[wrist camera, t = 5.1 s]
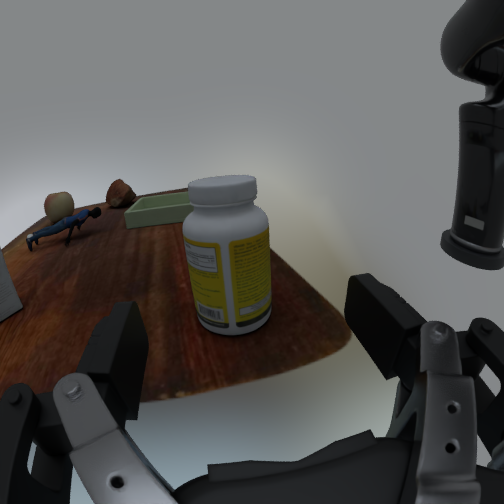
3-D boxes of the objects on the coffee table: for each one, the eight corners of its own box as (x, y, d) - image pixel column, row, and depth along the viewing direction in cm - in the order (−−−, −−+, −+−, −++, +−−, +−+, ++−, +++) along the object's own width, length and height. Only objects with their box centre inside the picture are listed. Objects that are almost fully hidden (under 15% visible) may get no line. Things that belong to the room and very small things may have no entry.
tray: (203, 203, 61) (202, 189, 60) (203, 219, 49) (201, 203, 47) (142, 210, 59) (140, 197, 58) (126, 228, 47) (124, 213, 46)
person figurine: (25, 266, 37) (102, 234, 42) (16, 244, 35) (93, 210, 40) (42, 245, 47) (109, 218, 51) (35, 227, 45) (102, 198, 49)
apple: (45, 225, 58) (39, 197, 55) (70, 215, 65) (65, 188, 61) (53, 228, 53) (46, 197, 50) (81, 217, 60) (76, 187, 57)
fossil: (108, 191, 72) (117, 162, 67) (133, 198, 76) (143, 170, 71) (99, 216, 63) (107, 184, 58) (128, 224, 67) (138, 193, 62)
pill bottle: (267, 292, 25) (263, 171, 21) (275, 335, 20) (273, 183, 15) (201, 296, 25) (185, 177, 21) (193, 339, 20) (167, 192, 15)
